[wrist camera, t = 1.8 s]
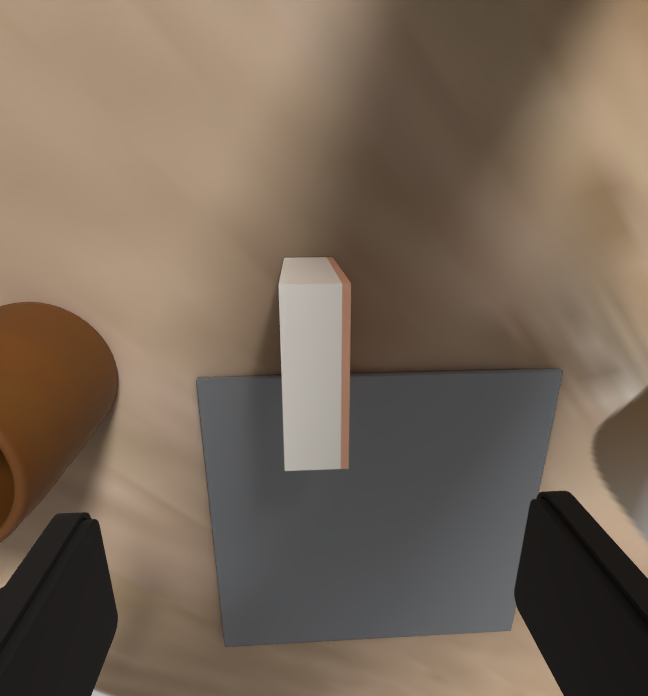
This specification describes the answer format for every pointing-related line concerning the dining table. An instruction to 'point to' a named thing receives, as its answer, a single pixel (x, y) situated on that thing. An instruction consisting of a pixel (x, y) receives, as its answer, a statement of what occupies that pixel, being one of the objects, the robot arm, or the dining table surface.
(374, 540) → the mat
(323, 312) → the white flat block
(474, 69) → the dining table surface
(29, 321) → the mug
